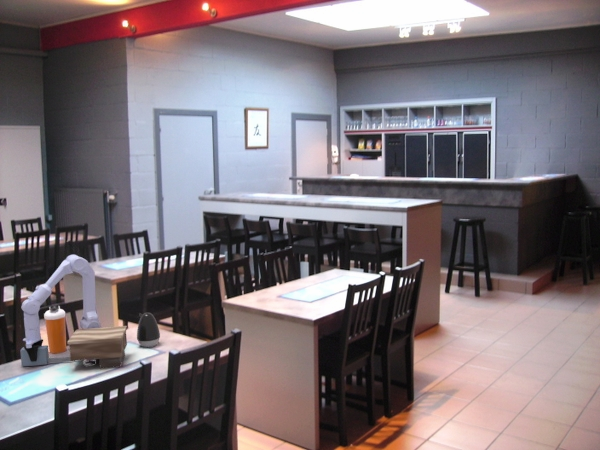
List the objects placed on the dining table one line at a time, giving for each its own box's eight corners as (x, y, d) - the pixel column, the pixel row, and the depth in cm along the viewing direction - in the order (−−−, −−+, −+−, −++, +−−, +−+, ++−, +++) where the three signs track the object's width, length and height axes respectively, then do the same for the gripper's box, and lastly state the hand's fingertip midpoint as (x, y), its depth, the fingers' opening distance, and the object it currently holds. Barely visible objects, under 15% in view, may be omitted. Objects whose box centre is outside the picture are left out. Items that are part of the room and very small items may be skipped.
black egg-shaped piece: (150, 340, 289) (147, 308, 287) (165, 344, 283) (163, 311, 281) (132, 346, 281) (130, 313, 279) (147, 350, 275) (145, 317, 273)
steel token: (84, 362, 263) (84, 359, 263) (96, 361, 263) (96, 358, 263) (82, 367, 258) (81, 363, 258) (94, 366, 259) (94, 362, 258)
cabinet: (78, 358, 268) (76, 329, 267) (128, 354, 271) (126, 325, 269) (70, 372, 251) (67, 341, 250) (123, 367, 254) (121, 337, 253)
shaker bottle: (48, 355, 273) (44, 311, 270) (46, 350, 281) (42, 306, 278) (69, 351, 277) (66, 308, 274) (67, 346, 285) (63, 303, 282)
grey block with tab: (24, 363, 263) (23, 347, 262) (76, 359, 266) (74, 343, 265) (21, 366, 259) (20, 350, 258) (74, 362, 262) (72, 346, 261)
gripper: (27, 323, 266) (30, 354, 268) (16, 333, 252) (20, 366, 254) (44, 322, 267) (47, 353, 269) (35, 332, 253) (38, 364, 255)
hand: (35, 359), depth 261 cm, fingers closed on grey block with tab, 4 cm apart
